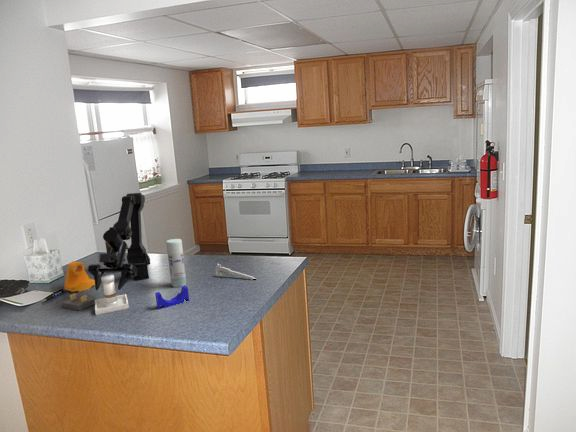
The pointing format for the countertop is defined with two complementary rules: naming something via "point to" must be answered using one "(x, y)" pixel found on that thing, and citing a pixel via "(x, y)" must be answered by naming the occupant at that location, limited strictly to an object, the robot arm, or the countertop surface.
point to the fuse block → (78, 302)
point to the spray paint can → (176, 262)
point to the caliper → (230, 272)
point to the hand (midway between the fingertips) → (107, 289)
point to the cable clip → (176, 300)
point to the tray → (121, 305)
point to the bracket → (77, 278)
